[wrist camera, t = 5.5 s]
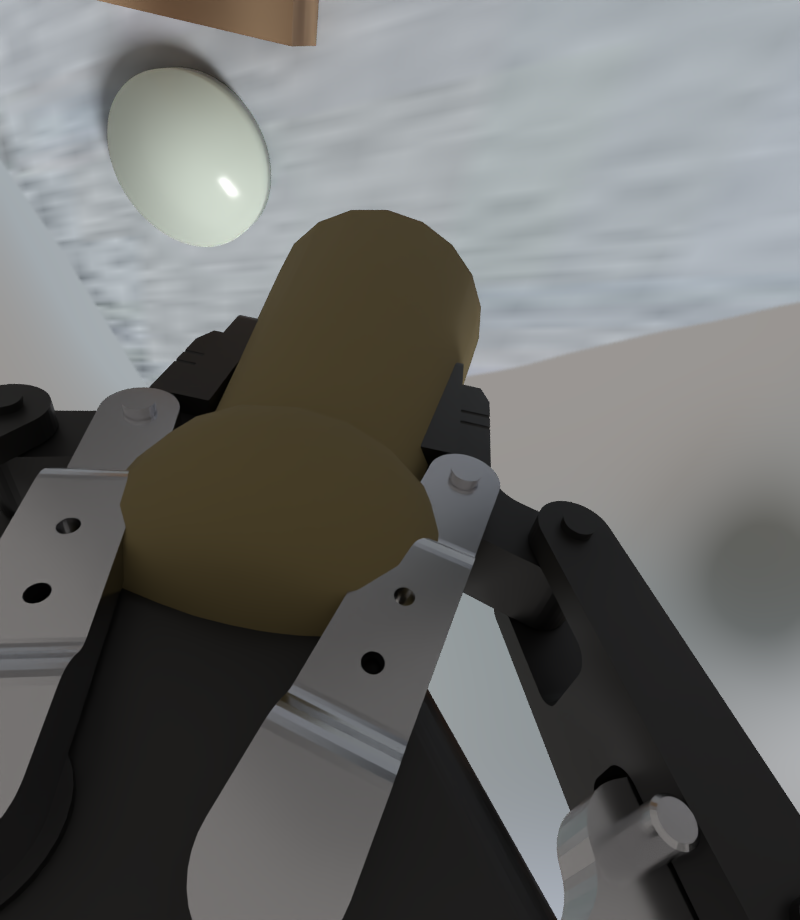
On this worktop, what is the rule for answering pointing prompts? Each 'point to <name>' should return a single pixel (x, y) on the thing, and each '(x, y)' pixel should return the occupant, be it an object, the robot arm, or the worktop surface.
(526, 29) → the worktop surface
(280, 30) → the walnut plinth
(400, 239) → the olive stamp handle
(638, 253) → the worktop surface
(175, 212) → the white domed disc
